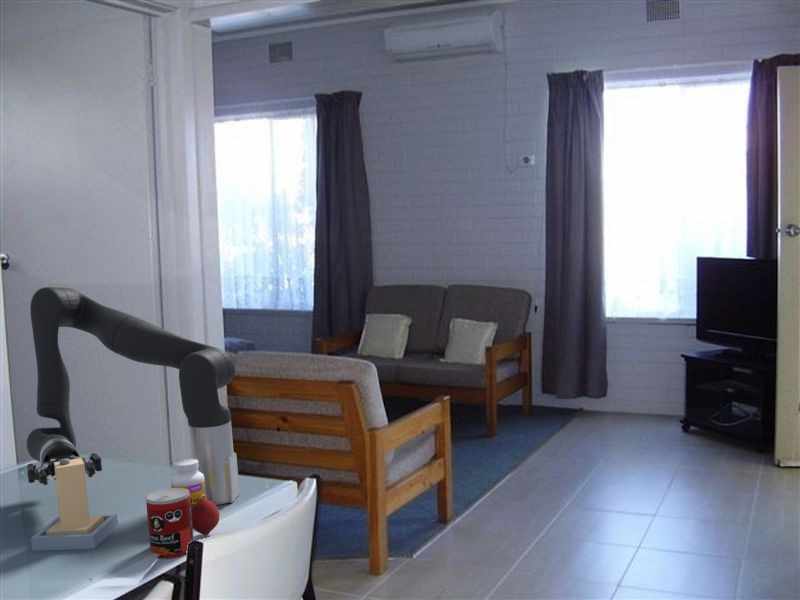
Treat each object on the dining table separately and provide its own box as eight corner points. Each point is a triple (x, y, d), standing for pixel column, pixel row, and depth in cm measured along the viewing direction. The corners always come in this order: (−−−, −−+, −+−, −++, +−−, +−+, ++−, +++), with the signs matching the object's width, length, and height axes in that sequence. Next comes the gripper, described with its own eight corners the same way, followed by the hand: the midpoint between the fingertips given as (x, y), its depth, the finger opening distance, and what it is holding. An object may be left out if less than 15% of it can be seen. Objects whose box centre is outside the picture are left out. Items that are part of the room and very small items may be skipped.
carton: (86, 517, 177) (80, 454, 176) (90, 524, 173) (83, 459, 172) (59, 522, 175) (53, 458, 174) (62, 529, 171) (56, 464, 169)
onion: (213, 540, 171) (210, 500, 170) (185, 540, 172) (182, 500, 172) (225, 530, 177) (222, 490, 176) (198, 529, 178) (194, 490, 177)
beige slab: (104, 530, 178) (103, 515, 178) (88, 545, 170) (86, 529, 170) (65, 531, 179) (64, 516, 178) (47, 546, 171) (45, 531, 170)
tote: (118, 531, 180) (117, 514, 180) (94, 553, 168) (92, 535, 168) (60, 533, 181) (59, 516, 180) (32, 555, 169) (31, 537, 169)
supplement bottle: (191, 531, 177) (185, 468, 176) (167, 526, 181) (162, 464, 180) (214, 520, 183) (209, 459, 182) (191, 516, 187) (186, 456, 185)
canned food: (142, 557, 165) (137, 499, 164) (168, 541, 172) (164, 486, 171) (176, 561, 162) (171, 502, 161) (202, 545, 169) (197, 488, 168)
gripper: (21, 446, 189) (28, 464, 174) (92, 435, 195) (103, 451, 181) (25, 481, 190) (31, 501, 175) (95, 469, 196) (107, 487, 181)
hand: (68, 476), depth 178 cm, fingers open, 8 cm apart
